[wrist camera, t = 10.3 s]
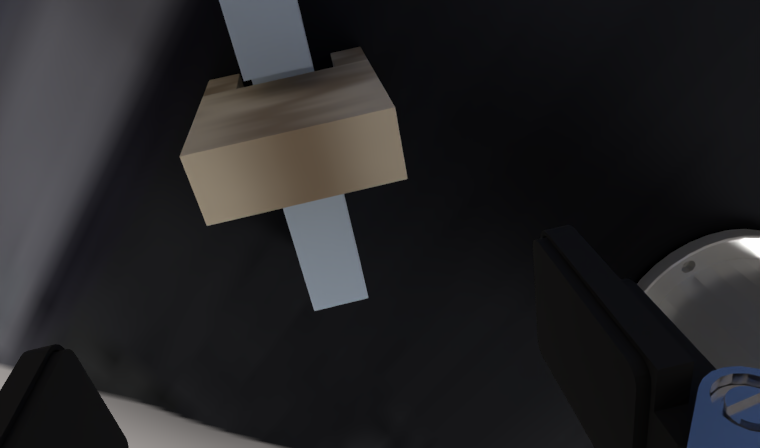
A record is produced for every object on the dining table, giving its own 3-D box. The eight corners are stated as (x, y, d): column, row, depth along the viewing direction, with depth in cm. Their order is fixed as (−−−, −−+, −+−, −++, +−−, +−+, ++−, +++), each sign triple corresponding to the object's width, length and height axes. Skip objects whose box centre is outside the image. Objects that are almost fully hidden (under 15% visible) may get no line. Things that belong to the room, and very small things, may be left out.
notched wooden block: (360, 46, 26) (394, 107, 18) (370, 100, 27) (407, 178, 20) (209, 80, 26) (179, 156, 18) (227, 133, 27) (206, 226, 19)
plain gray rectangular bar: (355, 243, 31) (368, 297, 27) (309, 254, 31) (314, 310, 27) (263, -143, 22) (259, -154, 18) (196, -129, 22) (177, -137, 17)
